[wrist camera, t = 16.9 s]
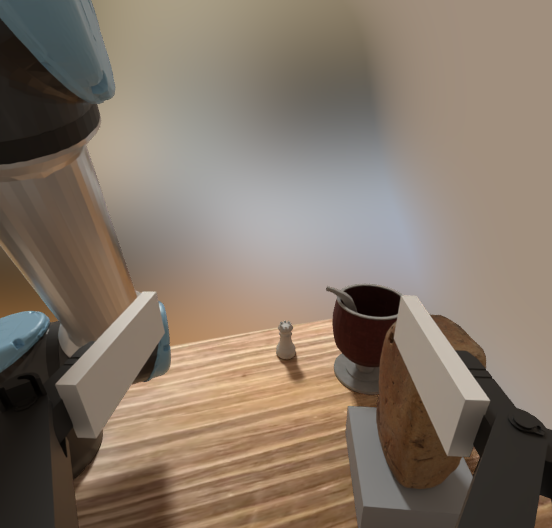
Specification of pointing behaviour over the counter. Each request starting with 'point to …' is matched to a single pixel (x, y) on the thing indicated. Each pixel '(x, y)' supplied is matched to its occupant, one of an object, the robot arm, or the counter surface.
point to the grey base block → (396, 484)
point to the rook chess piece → (285, 341)
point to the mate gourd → (362, 333)
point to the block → (414, 414)
